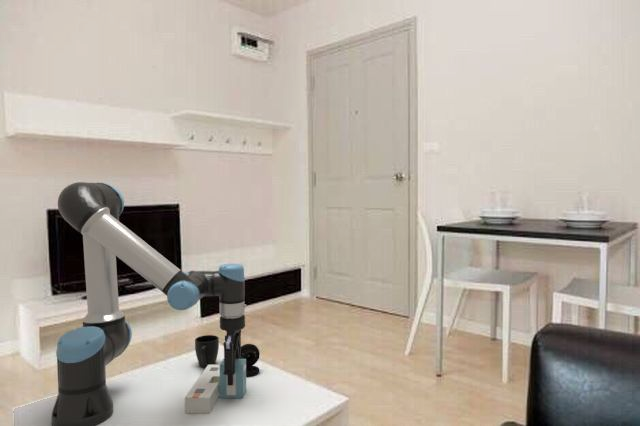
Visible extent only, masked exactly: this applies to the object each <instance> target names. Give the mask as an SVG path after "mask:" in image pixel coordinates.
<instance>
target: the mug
mask: <svg viewBox="0 0 640 426" xmlns="http://www.w3.org/2000/svg"><path fill="white" fill-rule="evenodd" d="M219 339H220V338H219V336H217V335H214V334H209V335H208V334H205V335H201V336H198V337H196V338H195V339H194V349H195V350H194V351H195V355H196V358H197V359H196V360H197V362H198V365H199V367H201V368H204V369H206V367H207V366H208V365H216V363H217V358H218V355H219V348H220V347H219V346H220V344H219V343H220V342H219V341H220V340H219Z"/></svg>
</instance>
